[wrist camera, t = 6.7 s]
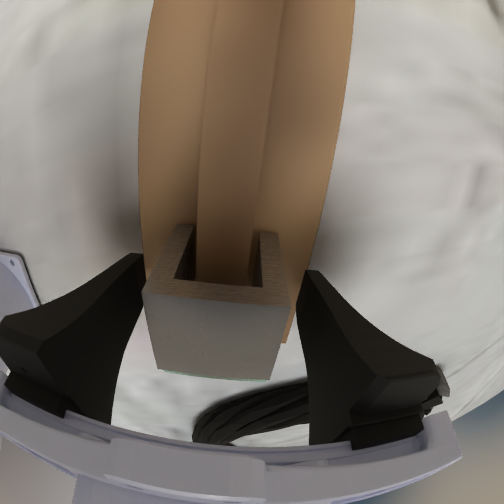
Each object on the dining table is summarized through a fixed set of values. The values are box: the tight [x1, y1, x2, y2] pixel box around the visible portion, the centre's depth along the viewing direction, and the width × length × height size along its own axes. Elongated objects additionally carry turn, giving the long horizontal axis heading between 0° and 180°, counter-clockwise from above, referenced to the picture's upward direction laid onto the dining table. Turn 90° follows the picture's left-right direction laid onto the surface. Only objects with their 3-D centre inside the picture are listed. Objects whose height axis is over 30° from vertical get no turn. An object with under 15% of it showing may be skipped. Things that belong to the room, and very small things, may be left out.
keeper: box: [141, 224, 291, 380], centre depth 11 cm, size 4×4×5 cm
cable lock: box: [192, 368, 450, 446], centre depth 24 cm, size 28×4×30 cm
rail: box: [138, 0, 355, 382], centre depth 9 cm, size 8×22×4 cm, turn 173°
